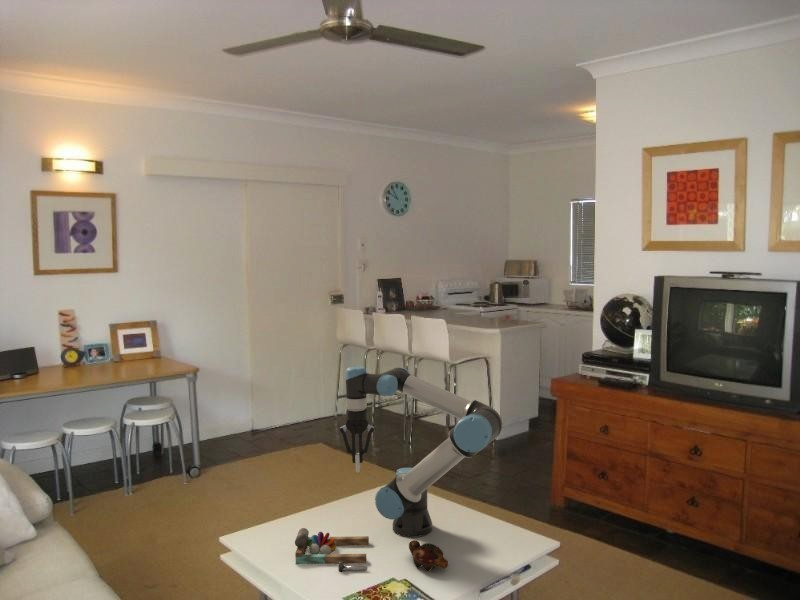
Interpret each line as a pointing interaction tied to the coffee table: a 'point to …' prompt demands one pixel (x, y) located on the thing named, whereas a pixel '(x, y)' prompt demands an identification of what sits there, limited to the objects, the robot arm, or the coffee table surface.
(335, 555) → the bay
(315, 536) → the rainbow sensory ball
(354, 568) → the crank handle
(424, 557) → the decorative turtle
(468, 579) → the coffee table surface
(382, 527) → the coffee table surface
